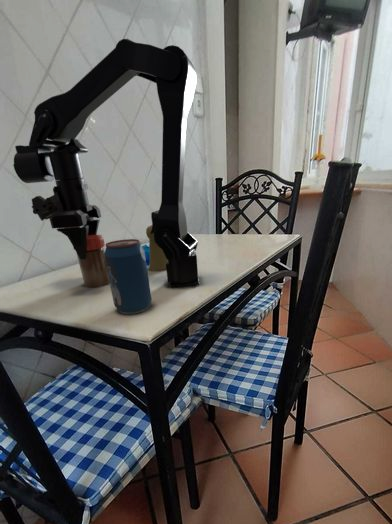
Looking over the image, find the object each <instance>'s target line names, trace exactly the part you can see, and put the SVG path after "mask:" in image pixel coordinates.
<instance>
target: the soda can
mask: <svg viewBox="0 0 392 524" xmlns="http://www.w3.org/2000/svg"><path fill="white" fill-rule="evenodd" d="M104 252H105V253H104V257H105V262H106V267H107V272H108V277H109V282H110V283H109V287H110V291H111V296H112V301H113V305H114V307H115V308H116V309H117V311H118V312H119V313H121V314H125V315H135V314H139V313H143V312H145V311H147V310H148V309H149V308H150V305H151V304H152V293H151V285H150V280H149V273H148V266H147V259H146V253H145V249H144V248H143V246H142V245H141V242H140V239H135V238H130V239H129V238H128V239H127V238H126V239H119V240H118V239H117V240H112V241H109V242H106V243H105V249H104Z"/></svg>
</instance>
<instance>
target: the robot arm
mask: <svg viewBox="0 0 392 524" xmlns="http://www.w3.org/2000/svg"><path fill="white" fill-rule="evenodd" d="M136 76H137V77H139V78H142V79H145V80H147V81H150V82H152V83H154V84H156V91H157V97H158V101H159V105H160V109H161V115H162V149H161V150H162V151H161V152H162V153H161V201H160V206H159V209H158V210H155V211H152V212H151V213H150V216H151V217H150V218H151V225H152V230H151V234H153V233H154V241H155V243H156V244H157V245H158V246H159V247H160V248H161V249H162V250H163V252H164V254H165V257H166V259H168V262H166V270H165V271H166V279H167V283H169V287H170V288H176V287H177V288H178V287H189V286H199V285H200V279H199V271H198V270H199V269H198V258H197V257H198V256H197V252H196V251H197V248H198V244H199V241H198V240H197V239H196V238H195V237H194V236H193V235H192V234H191V233H190V232H188V224H187V223H188V222H187V216H186V213H185V207H184V183H185V181H184V179H185V162H186V161H185V159H186V139H187V122H188V117H189V113H190V111H191V108H192V105H193V101H194V95H195V90H196V86H197V71H196V68H195V66H194V64H193V62H192V61H191V59H190V58H189V56H188V55H187V54H186V52H185V51H184V50H183V49H182V48H181V47H180V46H178V45H174V44H173V45H171V44H170V45H167V46H165V47H164V48H161V47H158V46H155V45H152V44H148V43H142V42H140V43H139V42H136V41H133V40H131V39H129V38H123V39H119V40H118V42H117V43H116V45H115V47H114V48H113V49H112V50H111V51H110V52H109V53H108V54H107V55H105V57H104V58H102V59H101V60H100V61H99V62H98V63H97V64H96V65H94V67H93V68H92V69H90V70H89V72H87V73H86V74H85V75H84V76H83V77H82V78H81V79H80V80H79V81H78V82H76V83H75V84H74V85H73V86H72V87H71V88H70V89H69V90H67V91H66V92H63V93H60V94H56V95H53V96H51V97H49V98H47V99H45V100H44V101H42V102H40V103H39V104H37V105H36V107H35V108H34V111H33V114H34V122H33V126H32V131H31V134H30V138H29V142H28V145H21V144H20V145H15V147H14V148H15V152H16V153H15V154H14V156H13V164H12V166H13V169H14V172H15V173H16V175H17V178H18V179H19V180H21V182H23V183H25V184H36V183H37V184H38V183H45V182H46V183H47V182H52V181H55V182H54V183H55V185H54V186H53V188H52V192H53V195H51V196H48V197H46V198H45V197H43V196H41V195H36V196H34V197H33V198H31V204H32V205H31V208H32V213H33V214H34V215H37V216H38V217H39V220H40V221H41V222H43V221H44V220H49V222H50V226H51V229H56V231H57V232H59V233H62V234H63V235H64V236H66V237H67V239H68V240H69V242H70V243H71V245H72V248H73V247H74V248H73V250H74V249H75V250H74V251H75V252H76V255H77V254H78V256H79V258H80V259H81V260H82V259H85V258H86V249H87V238H88V235H98V230H99V224H100V221H101V218H102V214H101V209H100V208H99V207H98V206H97V205H96V204H90V202H89V197H88V192H87V190H89V186H88V184H87V183H86V182H85V178H84V174H83V169H82V164H81V159H80V155H79V154H86V153H88V152H89V149H88V148H87V147H86V146H85V145H83V144H82V143H81V141H79V140H78V139H77V137H78V136H79V134H80V133H81V132H82V130H83V129H84V127H85V126H86V125H85V124H86V121H87V119H88V118H89V117H90V116H91V114H92V113H93V112H95V111H96V110H97V109H98V108H99V107H101V106H102V105H103V104H104V103H105V102H107V100H109V99H110V98H111V97H112V96H114V95H115V94H116V93H117V92H118V91H119V90H121V89H122V88H123V87H124V86H125V85H126V84H128V83H129V82H130V81H131V80H132V79H134V77H136Z"/></svg>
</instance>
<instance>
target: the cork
mask: <svg viewBox="0 0 392 524" xmlns="http://www.w3.org/2000/svg"><path fill="white" fill-rule="evenodd" d="M151 230H152V224H151V225H148V226H147V227H146V229H145V234H146V237H147V238H148V241H149V243H148V247H149V249H148V250H149V253H148V254H149V270H150V271H154V272H160V271H161V272H162V271H166V262H168V259H166V257H165V254H164V252H163V250H162V249H161V248H160V247H159V246H158V245H157V244H156V243H155V241H154V233H153V234H151Z"/></svg>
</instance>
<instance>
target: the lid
mask: <svg viewBox="0 0 392 524" xmlns="http://www.w3.org/2000/svg"><path fill="white" fill-rule="evenodd" d="M103 236H104V235H102V234H97V235H88V238H87V249H86V250H94V249H99V248H102V247H103V248H105V247H106V243H105V241H104V240H105V239H104V237H103ZM72 248H73V250H74V251H75V249H74V247H73V246H72Z"/></svg>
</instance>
